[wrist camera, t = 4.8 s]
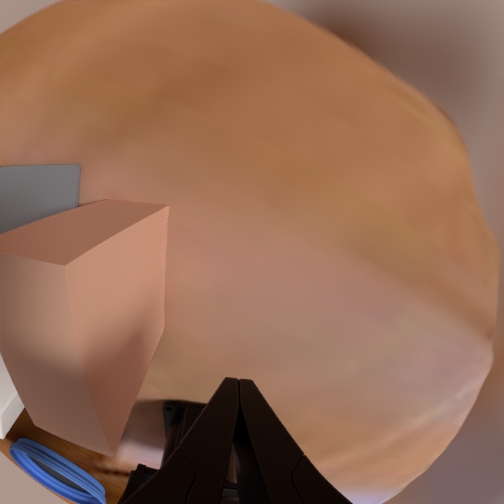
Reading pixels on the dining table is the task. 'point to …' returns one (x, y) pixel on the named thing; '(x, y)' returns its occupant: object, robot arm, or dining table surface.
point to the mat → (36, 193)
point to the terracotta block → (83, 315)
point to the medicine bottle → (8, 401)
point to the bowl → (57, 472)
